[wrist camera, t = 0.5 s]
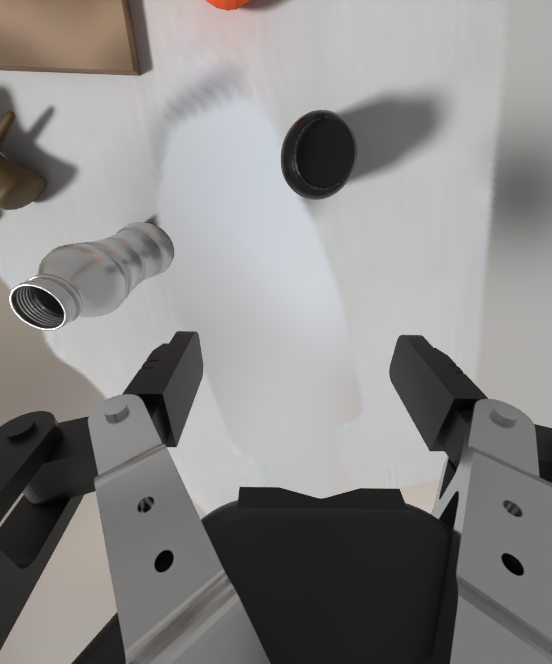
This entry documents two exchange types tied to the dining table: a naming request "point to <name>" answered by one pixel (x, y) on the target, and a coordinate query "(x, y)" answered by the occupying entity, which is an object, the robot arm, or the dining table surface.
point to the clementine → (228, 4)
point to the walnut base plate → (67, 36)
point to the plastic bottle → (91, 276)
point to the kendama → (16, 177)
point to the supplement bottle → (318, 154)
